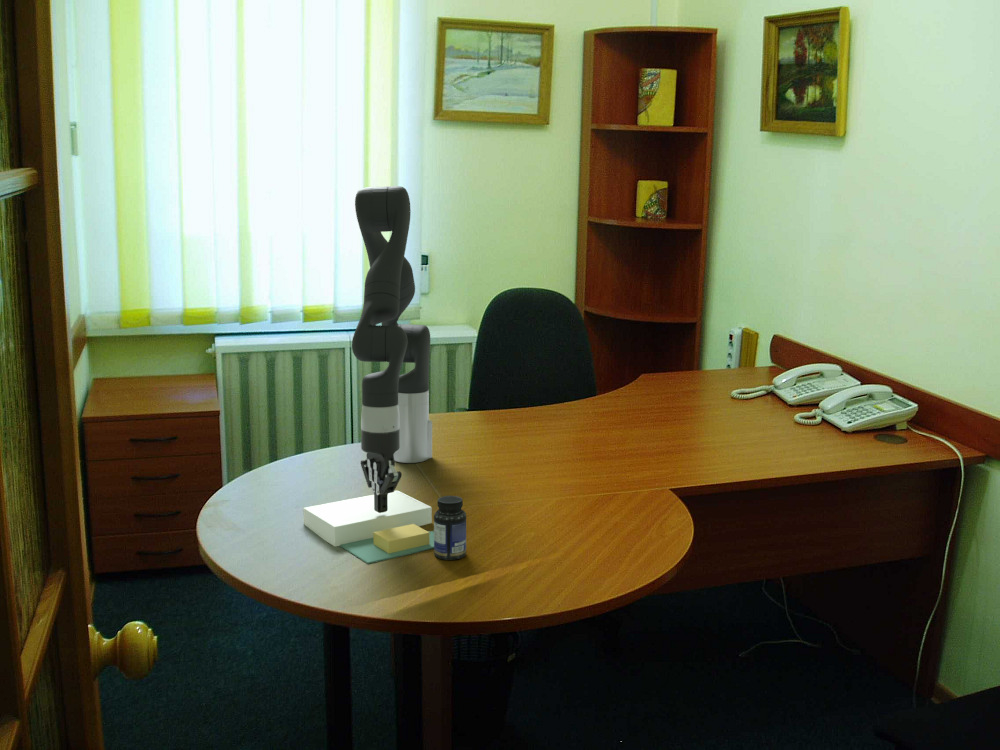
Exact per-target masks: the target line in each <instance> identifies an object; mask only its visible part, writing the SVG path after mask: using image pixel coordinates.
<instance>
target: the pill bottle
mask: <svg viewBox="0 0 1000 750" xmlns="http://www.w3.org/2000/svg"><path fill="white" fill-rule="evenodd" d="M463 505H464V504H463V498H462V497H460V496H457V495H444V496H441V497H439V498H437V507H438V509H437V510H436V511H435V512H434V515H433V531H434V548H433V554H434V556H435V557H436V558H437V559H439V560H444V561H455V560H459V559H462V558H464V557H465V556H466V555H467V513H466V512H465V510H463V509H462V508H463Z"/></svg>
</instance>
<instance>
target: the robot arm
mask: <svg viewBox="0 0 1000 750" xmlns="http://www.w3.org/2000/svg"><path fill="white" fill-rule="evenodd" d="M354 207H355V215H356V221H357V223H358V227H359V230H360V233H361V236H362V240H363V242H364V243H363V244H364V246H365V250H366V254H367V257H368V263H369V269H368V271H367V273H366V277H365V282H364V292H363V294H364V295H363V304H362V305H363V306H362V307H363V308H362V311H361V315H360V319H359V321H358V324H357V326H356V328H355V330H354V333H353V336H352V339H351V340H352V341H351V350H352V353H353V355H354V356H355V359H357V360H358V361H360V362H363V363H364V362H367V363H369V362H370V363H372V362H374V363H376V362H377V363H378V362H380V363H381V362H382V363H383V362H384V363H386V362H387V363H388V365H387V368H385V369H383V370H381V371H377V372H372V373H369V374H366V375H365V376H363V378H362V380H361V382H362V383H361V393H362V394H361V400H362V401H361V412H360V436H361V437H360V441H361V443H360V444H361V445H360V447H361V450H362V451H363V452H365V453H366V459H364V460H363V459H362V460H360V467H361V469H362V473H363V476H364V479H365V481H366V484H367V487H368V488H369V489H370V488H371V491H372V493H373V495H374V510H375V511H377V512H378V513H382V512H386V511H387V509H388V506H387V495H388V493H392V492H394V491H396V488H397V486H398V484H399V482H400V480H401V478H402V476H403V475H402V471H397V470H396V468H395V465H396V462H398V463H402V464H415V463H416V464H417V463H422V462H424V461H428V460H429V459H432V458H433V421H432V420H431V419H430V411H429V410H430V402H429V401H430V399H429V398H430V393H429V392H430V358H431V357H430V354H431V332H430V329H429V328H428V326H427V325H425V324H408V323H407V324H405V323H402V324H401V323H398V321H399V319H400V317H401V315H402V314H403V312H405V310H406V309H407V308H408V307H409V305H410V303H412V301H413V299H414V297H415V293H416V285H415V278H414V273H413V267H412V265H411V263H410V261H408V259H407V258H406V257H405V254H406V249H407V243H408V242H407V241H408V236H409V230H410V223H411V212H412V211H411V201H410V196H409V193H408V191H407V189H406V188H405V187H403V186H397V185H396V186H395V185H394V186H391V185H389V186H370V187H369V186H368V187H363V188H360V189H359V190H357V192H356V195H355V199H354ZM382 232H383V233H384V232H387V233H388V232H391V235H390V237H389V239H388V240H387V239H386V238H385V237H384V235H383V233H382ZM378 324H381V325H378ZM403 363H409V364H411V363H412V364H413V363H414V364H415V365H414V368H412V369H411V370H410V371H407V372H406V373H403V374H400V373H401V371H402V369H401V368H402V365H403Z"/></svg>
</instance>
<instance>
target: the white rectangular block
mask: <svg viewBox="0 0 1000 750" xmlns="http://www.w3.org/2000/svg"><path fill="white" fill-rule="evenodd" d="M387 506H388V509H387V511H386V512H382V513H378V512H377V511H375V510H374V494H369V495H364V496H359V497H353V498H348V499H343V500H339V501H338V500H337V501H334V502H333V501H332V502H327V503H323V504H318V505H310V506H306V507H303V525H304V526H306V527H307V528H308V529H310V530H311V531H312V532H314V534H316V535H317V536H319V537H320V538H321V539H323V540H324V542H327V543H329V545H331V546H333V547H334V548H335V547H341V546H340V545H342V544H346V543H351V542H355V541H360V540H365V539H369V538H373V532H377V531H382V530H387V529H391V528H396V527H401V526H406V525H410V524H415V525H417V526H419V527H421V526H425V525H428V524H432V523H433V517H432V515H433V512H432V511H433V509H432V506H430V505H429V504H426V503H424V502H422V501H420V500H417V499H416V498H414V497H412V496H410V495H408V494H405V493H404V492H402V491H399V490H396V489H395V490H394V492H392V493H388V495H387Z"/></svg>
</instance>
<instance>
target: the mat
mask: <svg viewBox="0 0 1000 750" xmlns="http://www.w3.org/2000/svg"><path fill="white" fill-rule="evenodd" d="M427 531H428V532H430V538H429V544H428V545H424V546H420V547H415V548H411V549H406V550H402V551H398V552H393V553H387V552H386V551H384V550H382V549H381V548H379V547H377V546H376V545H374V540H373V538H369V539H365V540H360V541H355V542H351V543H346V544H342V545H340V546H339V547H341V548H342V549H344V550H346V551H347V552H348V553H350V554H351V555H353V556H355V557H356V558H358V559H359V560H361V561H363V562H364V563H365V564H367V565H369V564H373V563H377V562H381V561H387V560H390V559H395V558H399V557H403V556H408V555H411V554H416V553H420V552H424V551H428V550H432V549H433V550H434V530H427Z"/></svg>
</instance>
